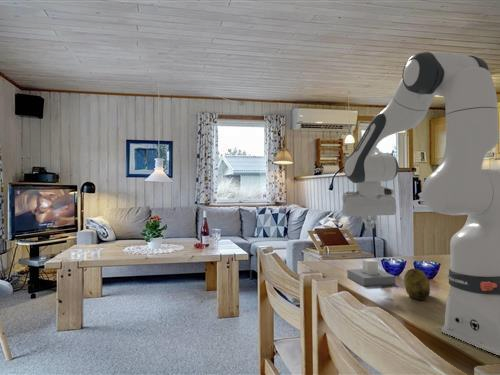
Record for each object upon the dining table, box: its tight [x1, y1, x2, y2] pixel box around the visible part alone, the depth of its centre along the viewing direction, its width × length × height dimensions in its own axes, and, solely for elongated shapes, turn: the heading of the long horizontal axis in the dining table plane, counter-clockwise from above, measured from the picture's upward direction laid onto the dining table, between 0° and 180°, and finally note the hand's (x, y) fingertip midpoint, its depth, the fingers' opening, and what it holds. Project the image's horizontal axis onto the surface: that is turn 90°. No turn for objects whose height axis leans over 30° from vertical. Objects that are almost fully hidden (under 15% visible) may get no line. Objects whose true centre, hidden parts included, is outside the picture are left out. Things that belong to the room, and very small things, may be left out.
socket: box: [346, 268, 396, 288], centre depth 140 cm, size 14×12×3 cm
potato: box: [403, 268, 431, 301], centre depth 120 cm, size 8×13×8 cm, turn 150°
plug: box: [362, 258, 379, 275], centre depth 140 cm, size 4×4×7 cm
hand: (369, 228), depth 140 cm, fingers closed
